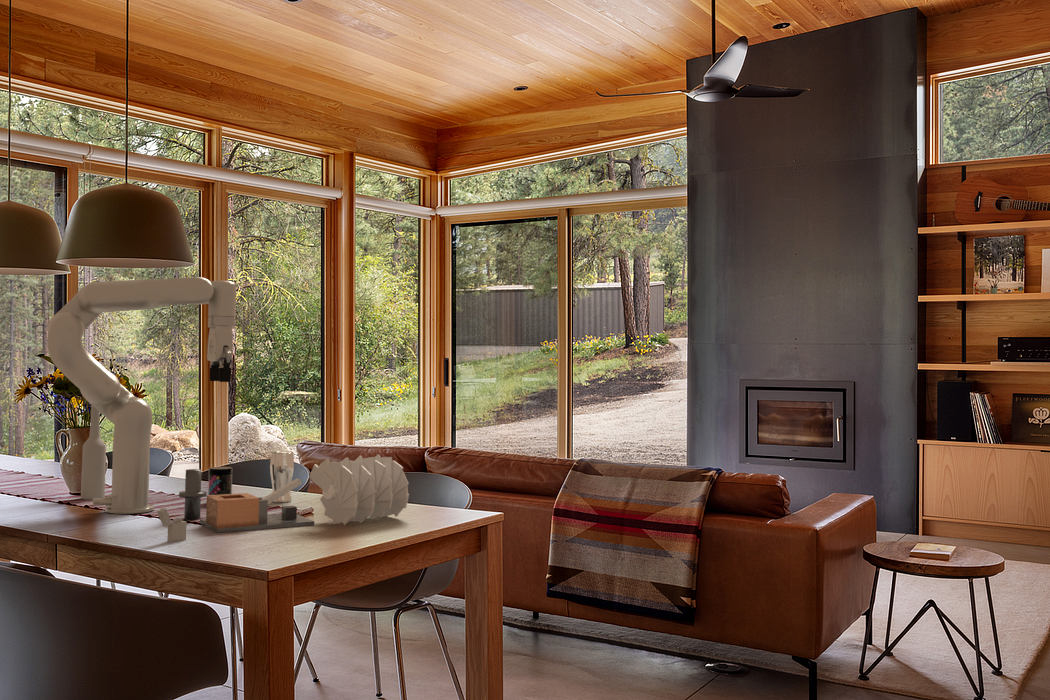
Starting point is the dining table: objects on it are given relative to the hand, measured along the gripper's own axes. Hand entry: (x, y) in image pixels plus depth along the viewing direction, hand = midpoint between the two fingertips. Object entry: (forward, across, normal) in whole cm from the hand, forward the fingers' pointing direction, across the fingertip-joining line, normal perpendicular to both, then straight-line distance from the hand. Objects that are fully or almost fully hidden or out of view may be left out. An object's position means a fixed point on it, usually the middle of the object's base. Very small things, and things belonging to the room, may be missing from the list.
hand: (219, 381), depth 271 cm
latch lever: (+29, +35, +7) cm, 46 cm away
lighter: (+36, +49, -24) cm, 66 cm away
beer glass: (+36, 0, +19) cm, 41 cm away
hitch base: (+36, +35, -1) cm, 51 cm away
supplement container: (+36, -6, +2) cm, 37 cm away
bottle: (+36, -31, -28) cm, 56 cm away
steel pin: (+36, +19, -12) cm, 43 cm away
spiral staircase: (+37, +43, +27) cm, 62 cm away
